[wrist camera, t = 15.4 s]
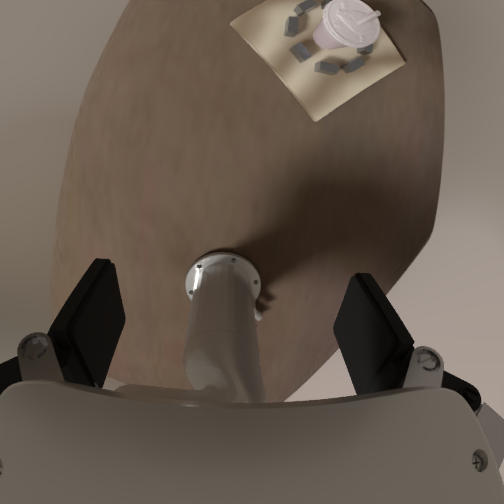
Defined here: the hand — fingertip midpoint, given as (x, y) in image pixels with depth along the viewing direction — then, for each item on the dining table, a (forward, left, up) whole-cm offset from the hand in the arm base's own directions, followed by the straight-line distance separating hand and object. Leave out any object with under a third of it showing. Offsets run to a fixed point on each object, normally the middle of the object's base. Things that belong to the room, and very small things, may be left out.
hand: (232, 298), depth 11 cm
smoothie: (+6, -21, -29) cm, 36 cm away
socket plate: (+6, -21, -30) cm, 37 cm away
